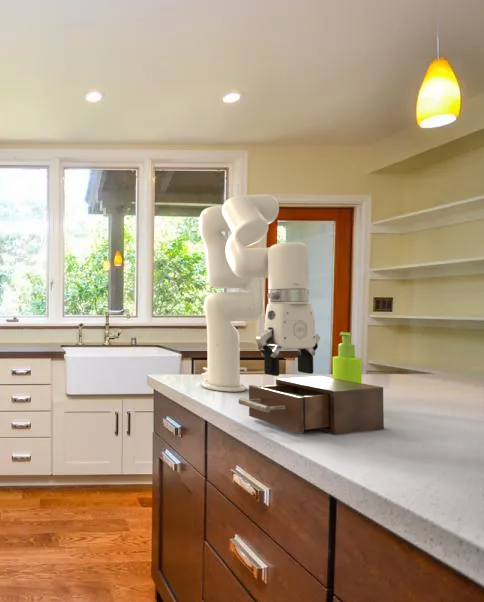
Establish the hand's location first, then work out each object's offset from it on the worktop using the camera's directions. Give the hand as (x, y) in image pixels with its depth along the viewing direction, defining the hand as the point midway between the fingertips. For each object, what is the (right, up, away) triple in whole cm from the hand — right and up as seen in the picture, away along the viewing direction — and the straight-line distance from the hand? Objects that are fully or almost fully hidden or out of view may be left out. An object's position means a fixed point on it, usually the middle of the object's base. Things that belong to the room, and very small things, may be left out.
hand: (288, 373), depth 83 cm
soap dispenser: (+26, -12, +15) cm, 33 cm away
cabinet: (+11, -12, +3) cm, 16 cm away
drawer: (-1, -11, 0) cm, 11 cm away
